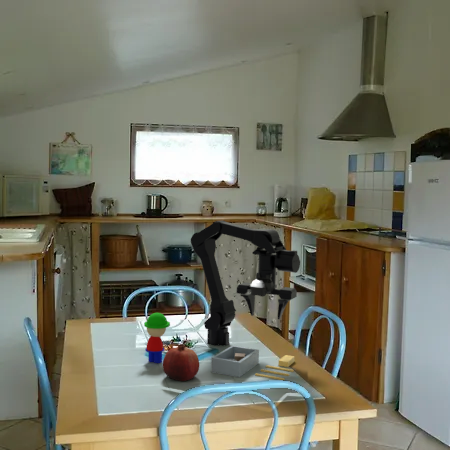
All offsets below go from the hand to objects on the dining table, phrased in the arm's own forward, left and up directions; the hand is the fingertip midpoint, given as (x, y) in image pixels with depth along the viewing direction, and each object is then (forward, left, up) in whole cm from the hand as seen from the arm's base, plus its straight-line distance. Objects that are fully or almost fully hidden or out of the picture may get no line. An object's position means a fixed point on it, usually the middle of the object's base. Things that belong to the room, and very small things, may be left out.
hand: (265, 317), depth 185 cm
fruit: (-12, -33, -13) cm, 37 cm away
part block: (-2, -15, -12) cm, 19 cm away
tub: (-2, -18, -12) cm, 22 cm away
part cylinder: (-2, -21, -12) cm, 24 cm away
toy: (-27, -22, -13) cm, 37 cm away
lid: (+10, -14, -12) cm, 21 cm away
